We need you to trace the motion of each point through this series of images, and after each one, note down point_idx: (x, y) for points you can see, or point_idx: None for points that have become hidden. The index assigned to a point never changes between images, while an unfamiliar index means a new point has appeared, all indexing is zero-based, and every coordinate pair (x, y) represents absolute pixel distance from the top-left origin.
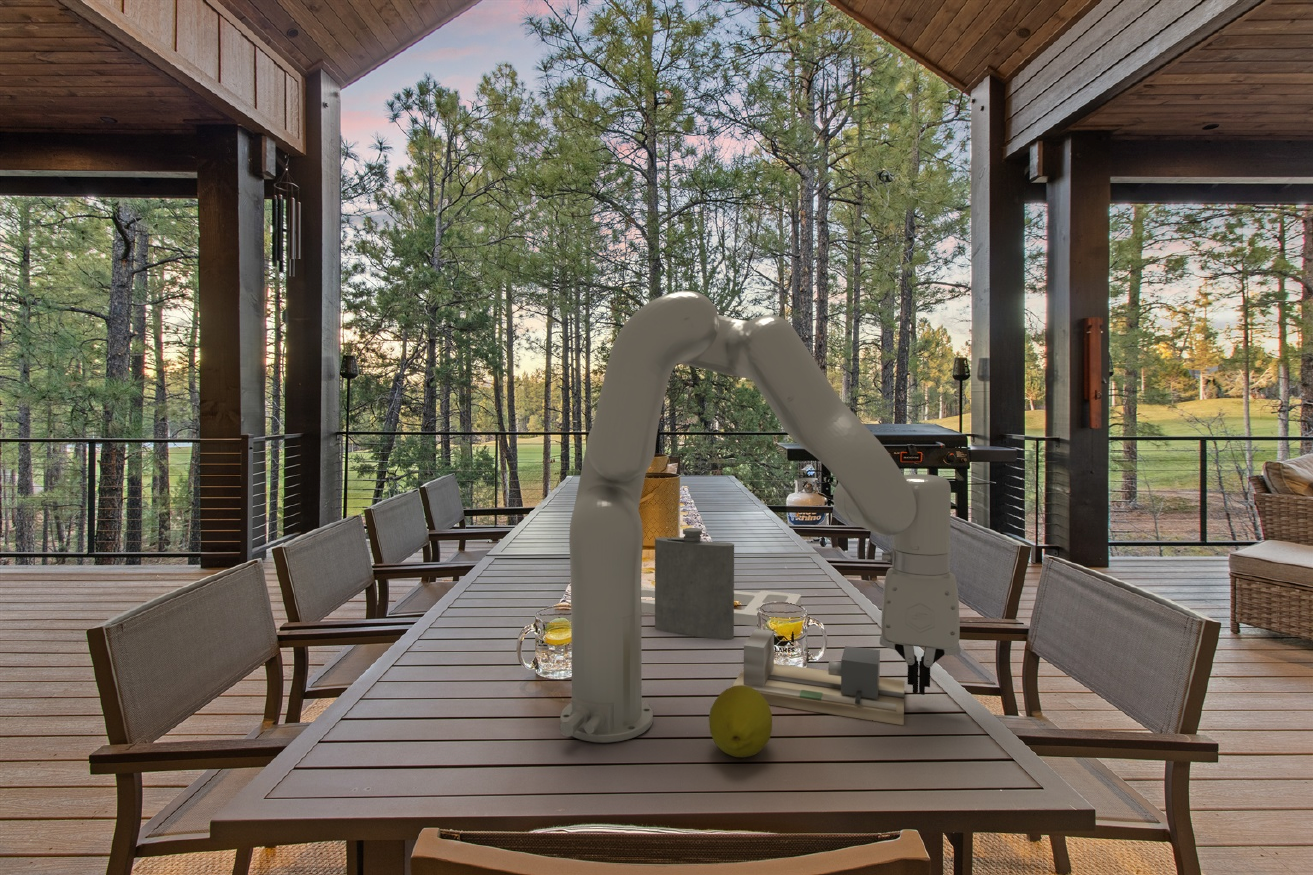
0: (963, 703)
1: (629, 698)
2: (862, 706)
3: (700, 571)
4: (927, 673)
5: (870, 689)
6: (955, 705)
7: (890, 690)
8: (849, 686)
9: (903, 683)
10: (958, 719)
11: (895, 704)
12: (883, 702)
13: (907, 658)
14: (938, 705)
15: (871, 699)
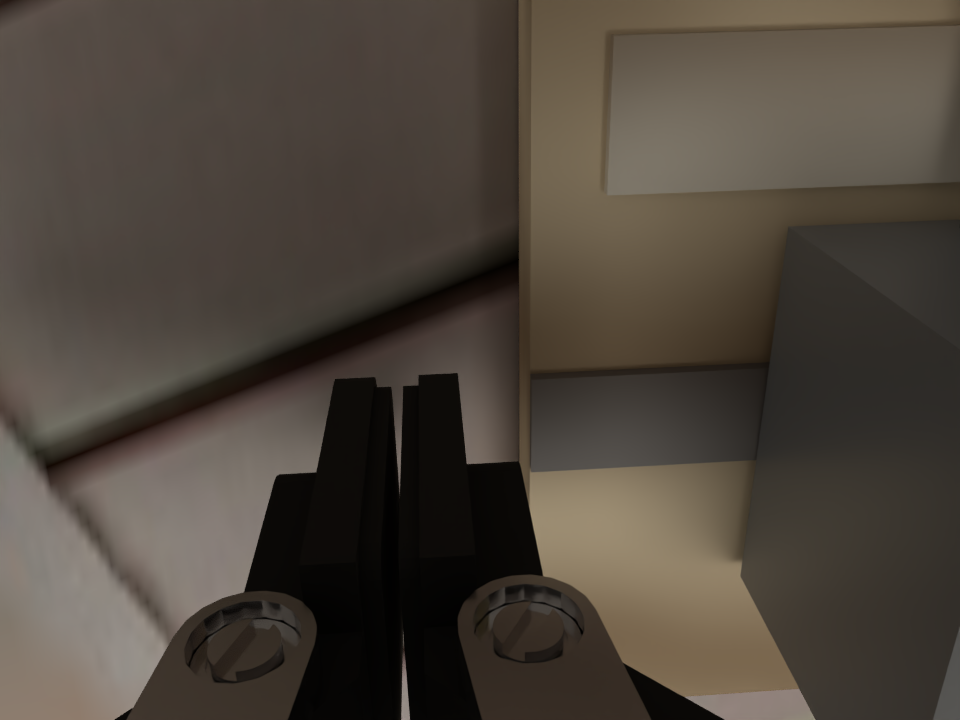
0: (87, 603)
1: None
2: (948, 25)
3: None
4: (287, 563)
5: (906, 248)
6: (137, 550)
7: (645, 498)
8: None
9: None
10: (72, 313)
11: (615, 182)
12: (730, 188)
13: (573, 656)
14: (259, 504)
15: None
